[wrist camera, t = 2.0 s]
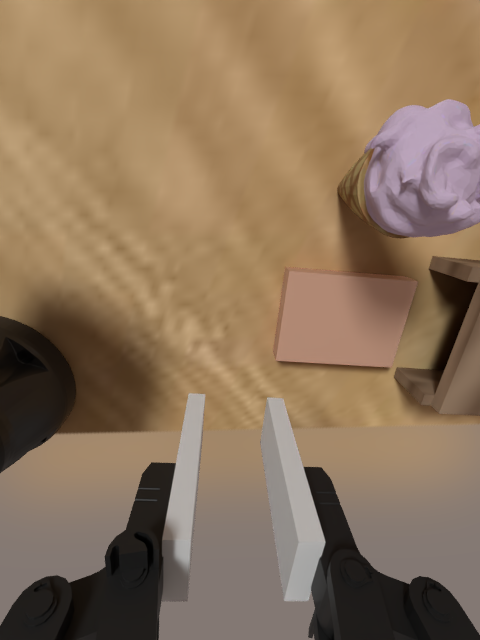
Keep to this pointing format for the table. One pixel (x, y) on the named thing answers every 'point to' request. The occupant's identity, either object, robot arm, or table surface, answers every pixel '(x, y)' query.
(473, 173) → the ice cream cone
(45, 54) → the table surface
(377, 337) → the pinkish brown block
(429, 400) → the brown channel bracket
